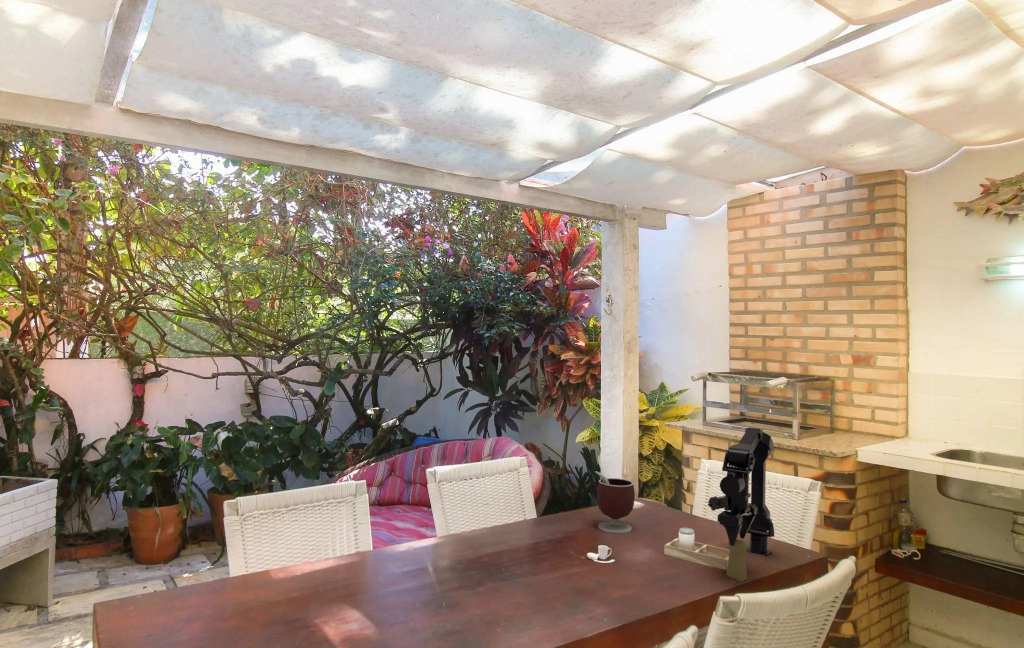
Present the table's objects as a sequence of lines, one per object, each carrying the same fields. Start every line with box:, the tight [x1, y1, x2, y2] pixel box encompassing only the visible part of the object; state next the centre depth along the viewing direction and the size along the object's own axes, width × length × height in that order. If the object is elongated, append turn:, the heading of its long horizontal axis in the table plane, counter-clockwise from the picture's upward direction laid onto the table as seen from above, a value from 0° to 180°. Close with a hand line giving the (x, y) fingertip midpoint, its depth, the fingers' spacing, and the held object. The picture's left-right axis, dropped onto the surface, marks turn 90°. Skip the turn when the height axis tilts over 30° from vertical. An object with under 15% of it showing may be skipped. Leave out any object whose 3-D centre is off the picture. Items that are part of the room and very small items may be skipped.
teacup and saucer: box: [586, 544, 616, 564], centre depth 205 cm, size 9×8×4 cm
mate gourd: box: [594, 471, 636, 534], centre depth 239 cm, size 16×14×20 cm
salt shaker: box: [678, 527, 696, 551], centre depth 210 cm, size 5×5×8 cm
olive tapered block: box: [725, 539, 748, 582], centre depth 193 cm, size 6×6×11 cm
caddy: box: [663, 537, 730, 571], centre depth 207 cm, size 11×20×4 cm, turn 52°
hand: (737, 541), depth 193 cm, fingers open, 9 cm apart
